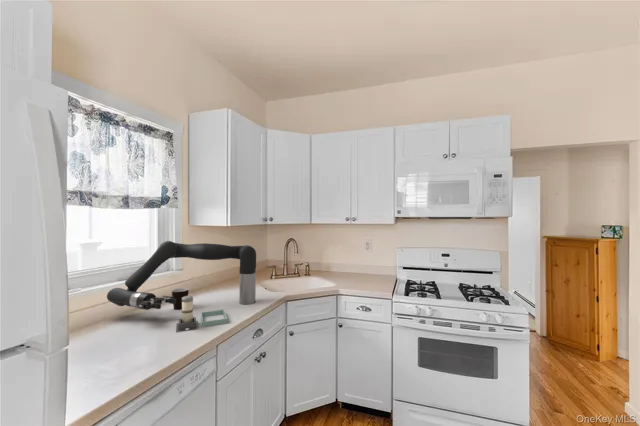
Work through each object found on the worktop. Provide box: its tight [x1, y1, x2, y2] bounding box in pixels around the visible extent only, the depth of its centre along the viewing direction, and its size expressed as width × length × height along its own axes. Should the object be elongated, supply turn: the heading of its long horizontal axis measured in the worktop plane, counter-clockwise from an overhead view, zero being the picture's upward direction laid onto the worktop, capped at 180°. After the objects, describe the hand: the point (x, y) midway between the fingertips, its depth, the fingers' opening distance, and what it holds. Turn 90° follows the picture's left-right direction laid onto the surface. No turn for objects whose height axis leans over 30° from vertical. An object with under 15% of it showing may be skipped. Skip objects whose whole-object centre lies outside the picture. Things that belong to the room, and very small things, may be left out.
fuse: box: [181, 295, 194, 323], centre depth 132 cm, size 5×5×13 cm
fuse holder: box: [175, 316, 199, 333], centre depth 132 cm, size 12×9×4 cm
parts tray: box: [200, 309, 229, 328], centre depth 141 cm, size 15×11×3 cm
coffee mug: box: [171, 287, 190, 311], centre depth 164 cm, size 12×9×10 cm
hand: (168, 304), depth 136 cm, fingers open, 8 cm apart
